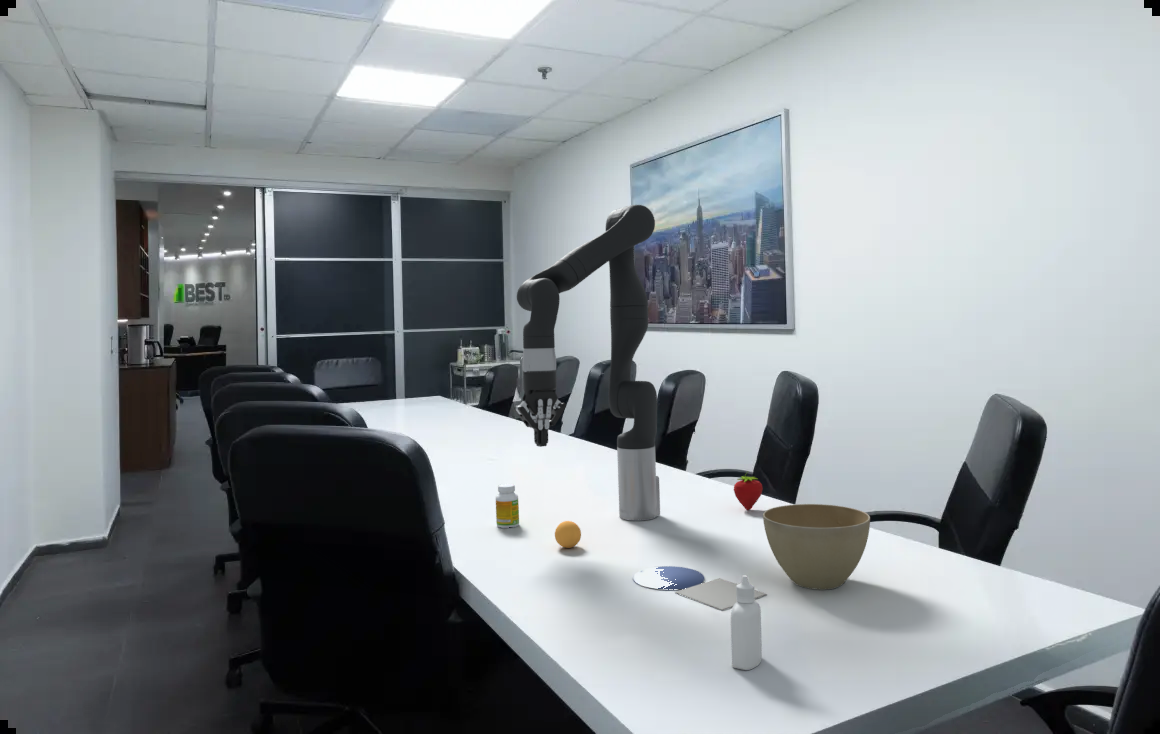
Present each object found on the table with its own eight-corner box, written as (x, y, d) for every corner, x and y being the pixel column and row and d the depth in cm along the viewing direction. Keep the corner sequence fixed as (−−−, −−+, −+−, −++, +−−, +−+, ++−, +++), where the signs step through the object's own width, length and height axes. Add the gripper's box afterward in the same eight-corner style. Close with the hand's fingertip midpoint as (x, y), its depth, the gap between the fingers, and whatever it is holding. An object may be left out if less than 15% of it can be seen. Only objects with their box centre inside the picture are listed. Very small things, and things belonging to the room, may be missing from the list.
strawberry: (768, 510, 189) (767, 470, 188) (742, 514, 186) (741, 473, 186) (754, 505, 194) (753, 466, 194) (729, 509, 192) (728, 469, 191)
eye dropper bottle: (720, 661, 105) (718, 575, 105) (753, 652, 108) (751, 568, 107) (740, 673, 101) (738, 584, 101) (773, 664, 104) (772, 576, 103)
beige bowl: (869, 570, 141) (868, 505, 141) (872, 604, 124) (871, 530, 124) (769, 563, 147) (767, 501, 147) (759, 595, 130) (757, 524, 130)
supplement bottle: (515, 528, 180) (514, 487, 179) (493, 528, 181) (492, 487, 180) (521, 523, 185) (520, 483, 185) (500, 522, 186) (499, 482, 186)
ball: (571, 542, 167) (570, 516, 166) (586, 547, 162) (585, 521, 162) (550, 547, 163) (549, 521, 163) (565, 552, 159) (564, 526, 159)
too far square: (719, 579, 139) (719, 578, 139) (767, 594, 130) (767, 593, 130) (674, 593, 133) (674, 591, 133) (721, 610, 124) (721, 609, 124)
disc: (670, 563, 150) (670, 562, 150) (719, 579, 139) (719, 578, 139) (618, 577, 142) (618, 576, 142) (666, 595, 132) (666, 594, 132)
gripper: (554, 367, 178) (556, 441, 179) (505, 369, 170) (507, 447, 171) (573, 368, 172) (575, 444, 173) (523, 370, 164) (525, 450, 165)
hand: (541, 446), depth 172 cm, fingers closed
